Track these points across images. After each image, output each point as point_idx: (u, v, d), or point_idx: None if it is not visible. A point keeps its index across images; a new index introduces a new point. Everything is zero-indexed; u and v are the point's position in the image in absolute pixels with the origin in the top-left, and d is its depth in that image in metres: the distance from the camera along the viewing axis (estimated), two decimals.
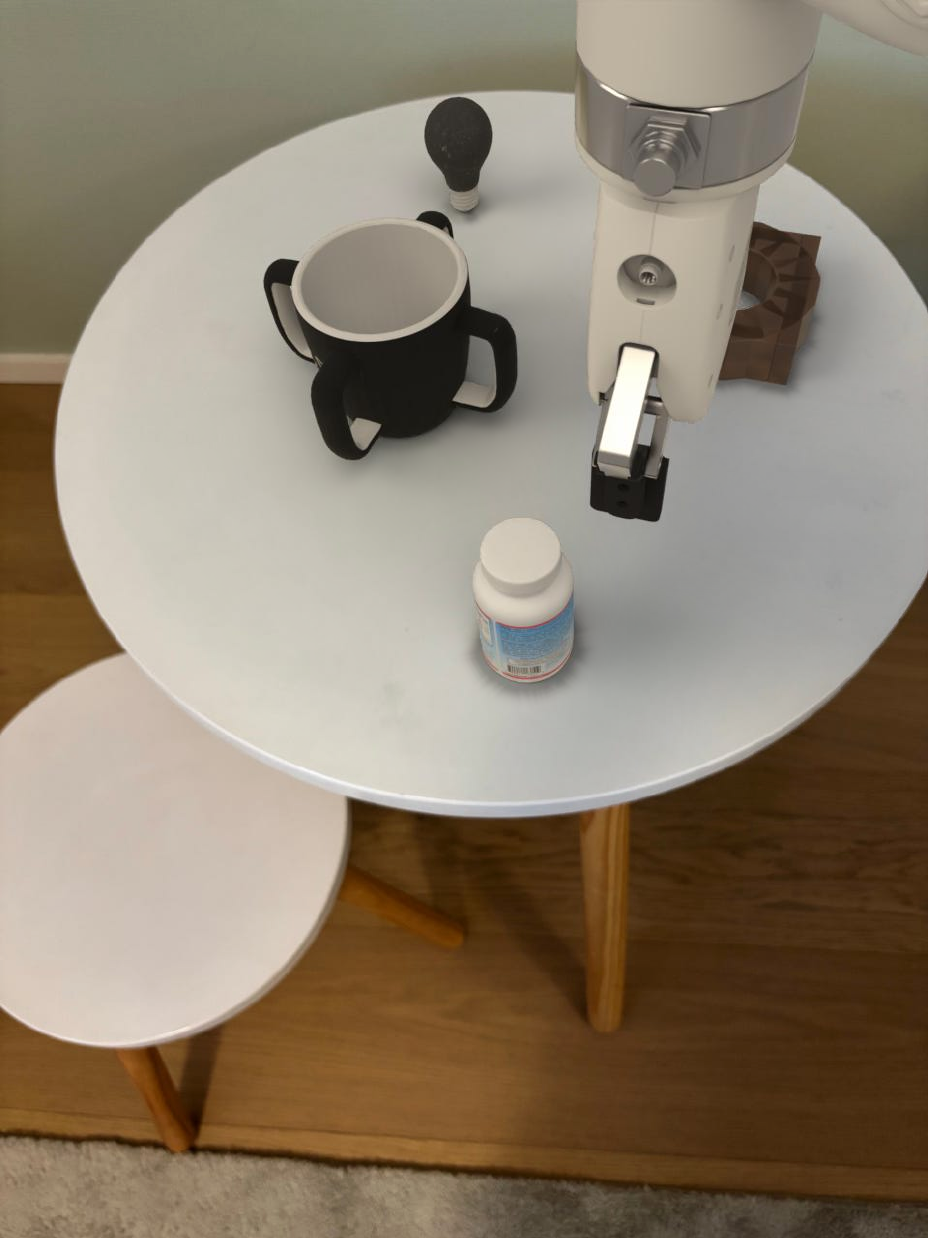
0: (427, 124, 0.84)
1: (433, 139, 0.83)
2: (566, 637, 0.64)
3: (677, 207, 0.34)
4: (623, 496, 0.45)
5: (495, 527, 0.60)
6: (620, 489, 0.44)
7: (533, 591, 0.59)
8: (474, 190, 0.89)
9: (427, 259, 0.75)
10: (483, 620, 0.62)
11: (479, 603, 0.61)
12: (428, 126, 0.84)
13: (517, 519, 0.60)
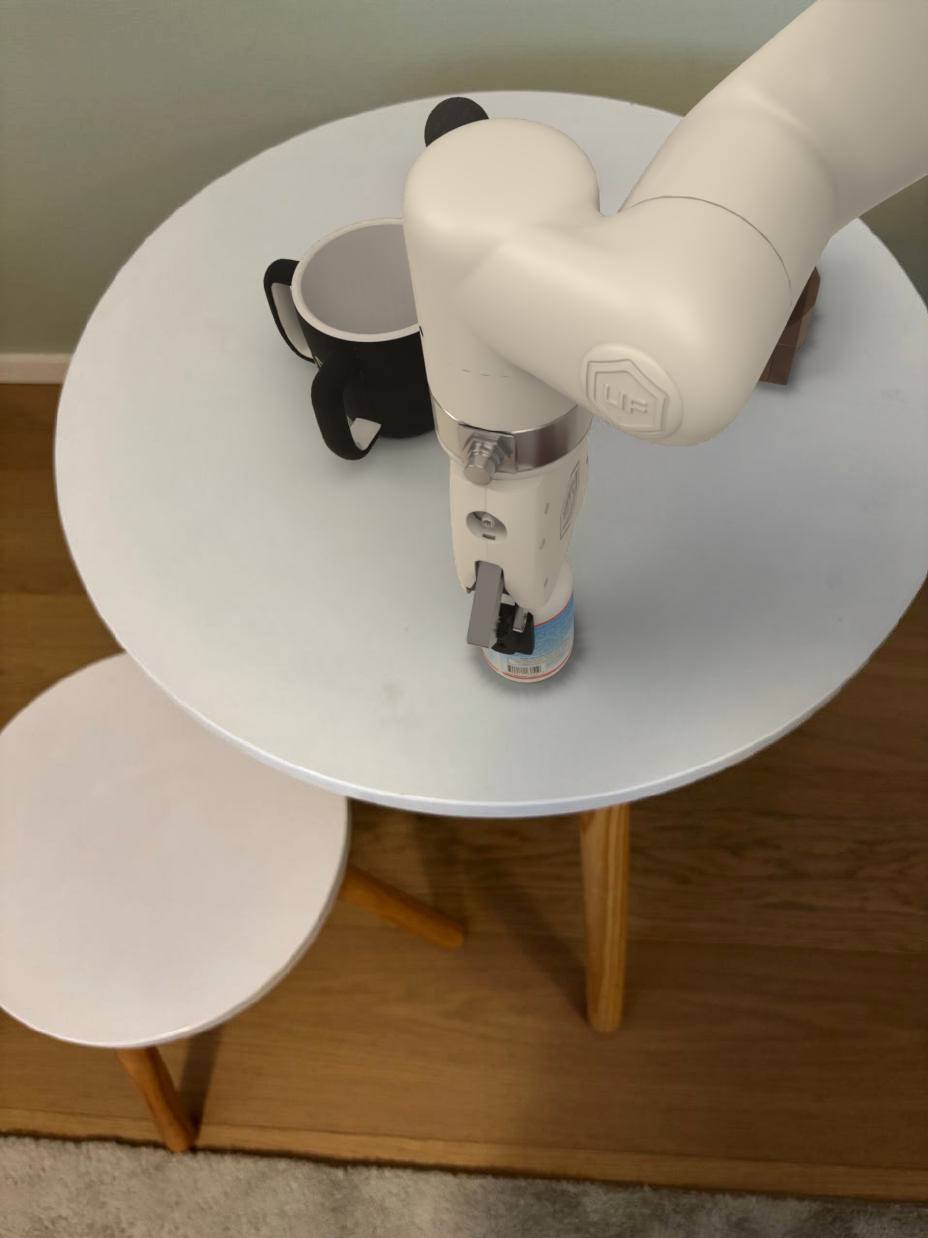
0: (427, 124, 0.84)
1: (433, 139, 0.83)
2: (566, 637, 0.64)
3: (502, 483, 0.47)
4: (501, 640, 0.59)
5: None
6: None
7: None
8: None
9: None
10: None
11: None
12: (428, 126, 0.84)
13: None
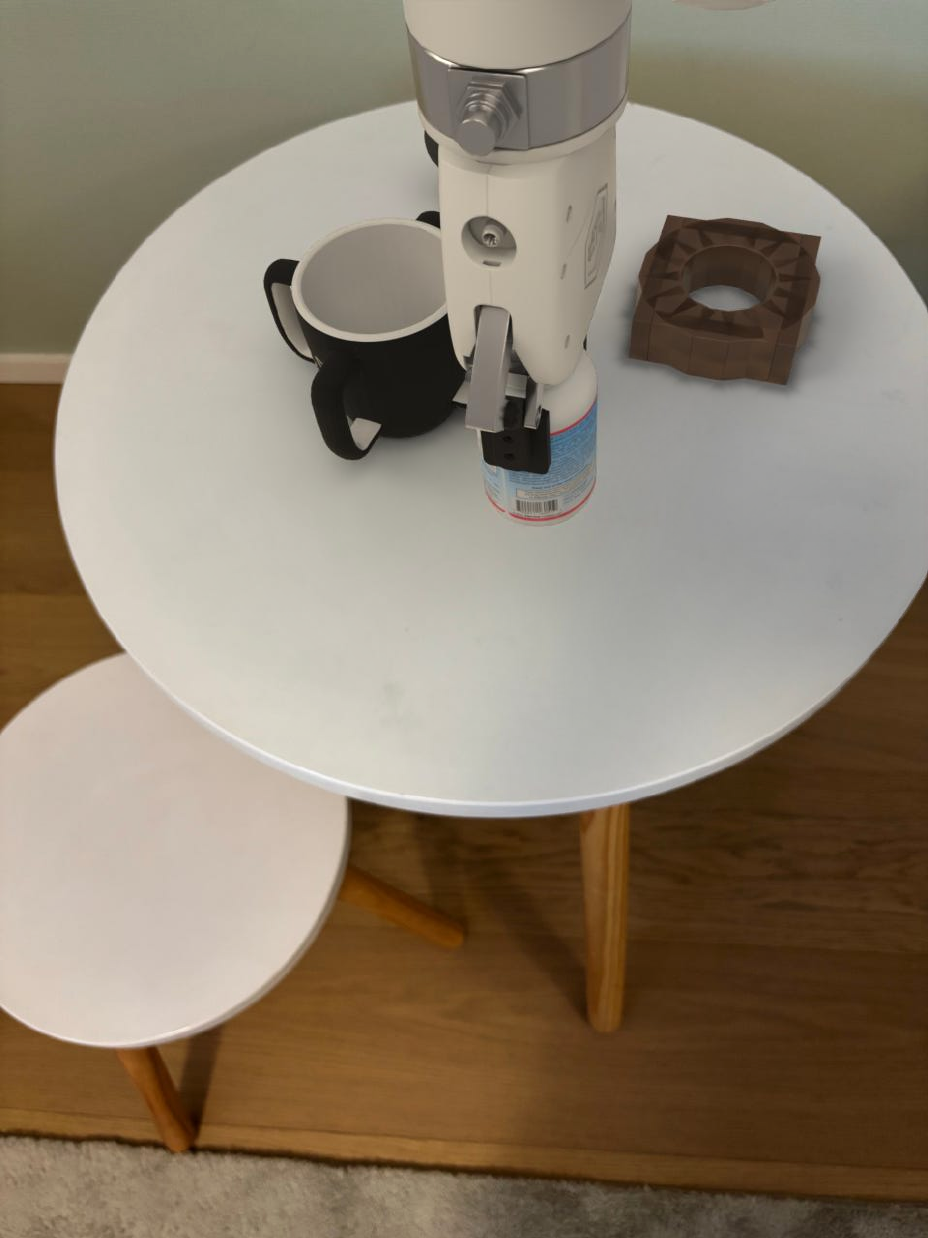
0: None
1: (433, 139, 0.83)
2: (588, 462, 0.52)
3: (508, 168, 0.35)
4: (509, 448, 0.47)
5: None
6: (505, 441, 0.47)
7: None
8: None
9: (427, 259, 0.75)
10: None
11: None
12: None
13: None
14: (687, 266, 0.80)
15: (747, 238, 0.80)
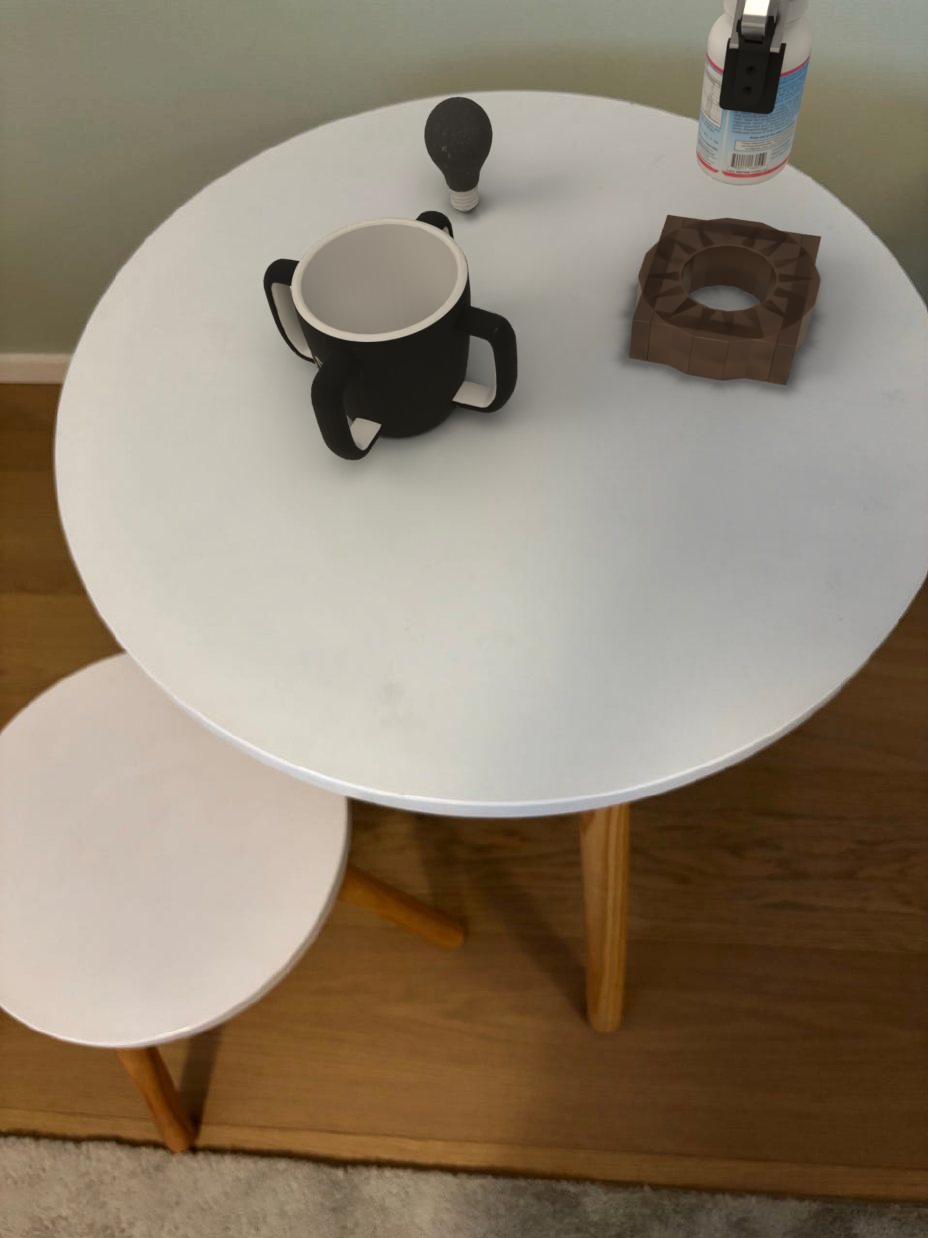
0: (427, 124, 0.84)
1: (433, 139, 0.83)
2: (794, 119, 0.64)
3: None
4: (749, 80, 0.59)
5: None
6: (747, 72, 0.59)
7: None
8: (474, 190, 0.89)
9: (427, 259, 0.75)
10: (717, 87, 0.62)
11: (718, 58, 0.61)
12: (428, 126, 0.84)
13: None
14: (687, 266, 0.80)
15: (747, 238, 0.80)
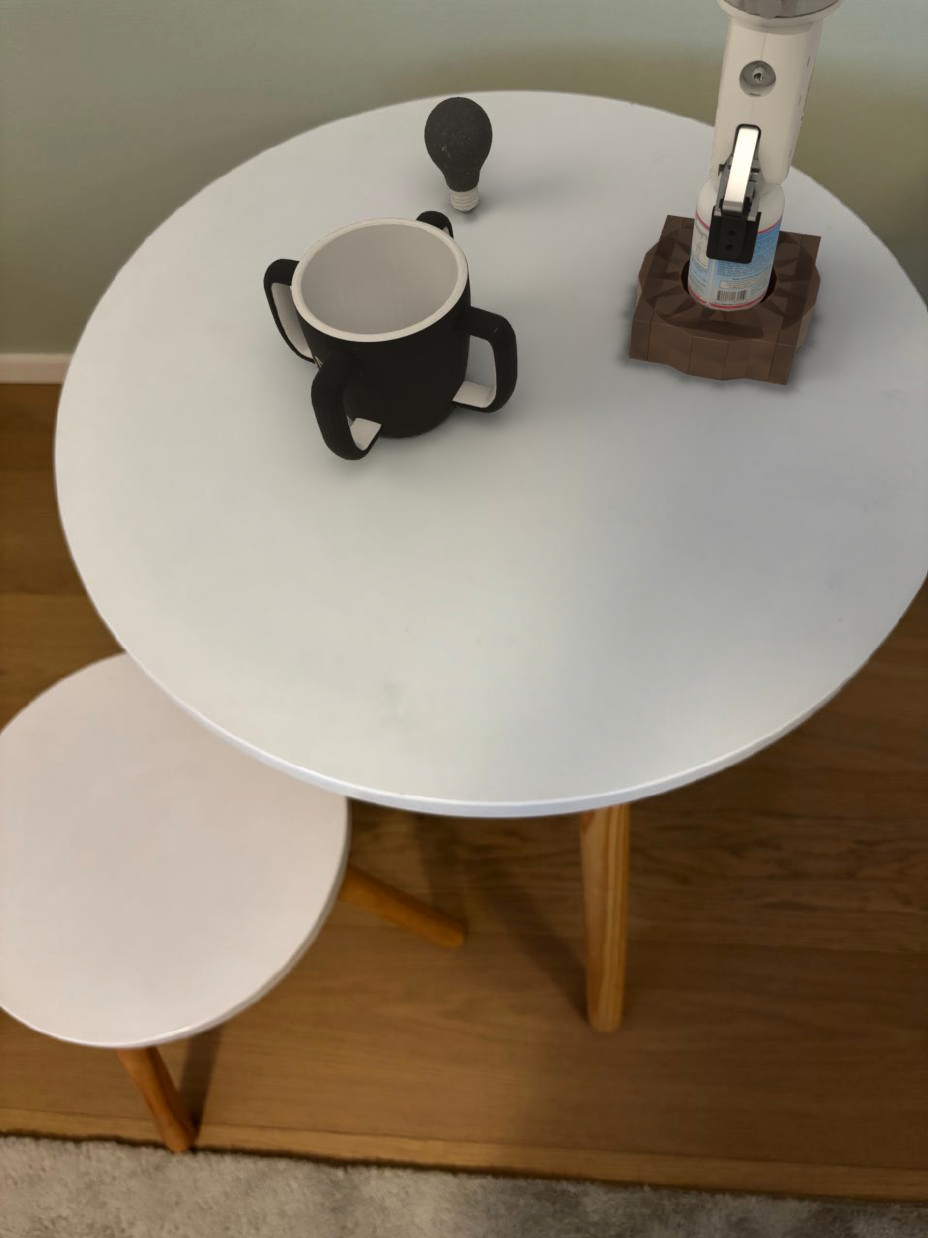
0: (427, 124, 0.84)
1: (433, 139, 0.83)
2: (770, 262, 0.75)
3: (778, 29, 0.58)
4: (731, 240, 0.70)
5: None
6: (729, 234, 0.70)
7: None
8: (474, 190, 0.89)
9: (427, 259, 0.75)
10: (705, 239, 0.73)
11: (705, 217, 0.72)
12: (428, 126, 0.84)
13: None
14: (687, 266, 0.80)
15: None
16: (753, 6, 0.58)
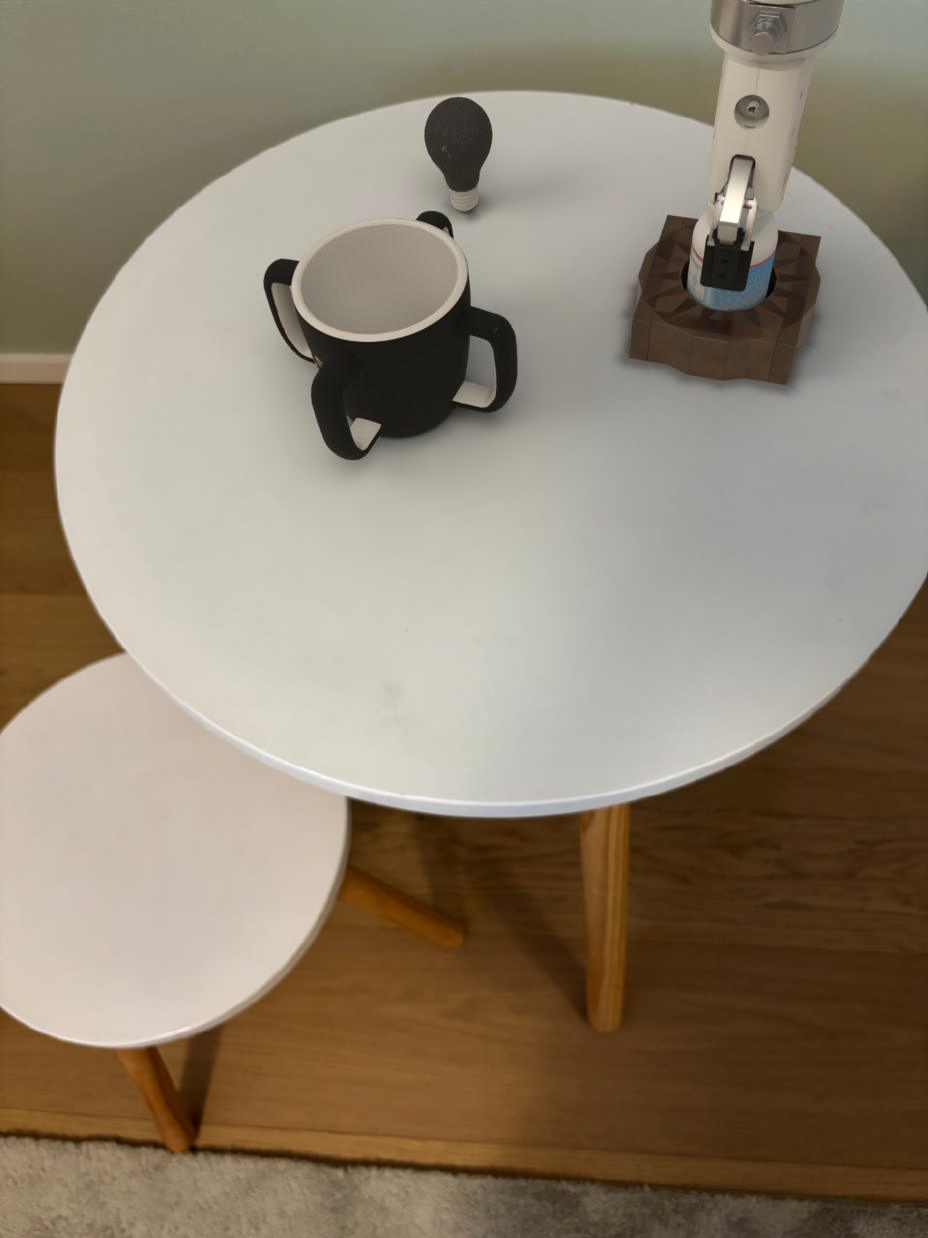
0: (427, 124, 0.84)
1: (433, 139, 0.83)
2: (764, 293, 0.78)
3: (772, 65, 0.60)
4: (724, 268, 0.71)
5: None
6: (723, 263, 0.71)
7: None
8: (474, 190, 0.89)
9: (427, 259, 0.75)
10: None
11: (701, 251, 0.75)
12: (428, 126, 0.84)
13: None
14: (687, 266, 0.80)
15: None
16: (747, 43, 0.60)
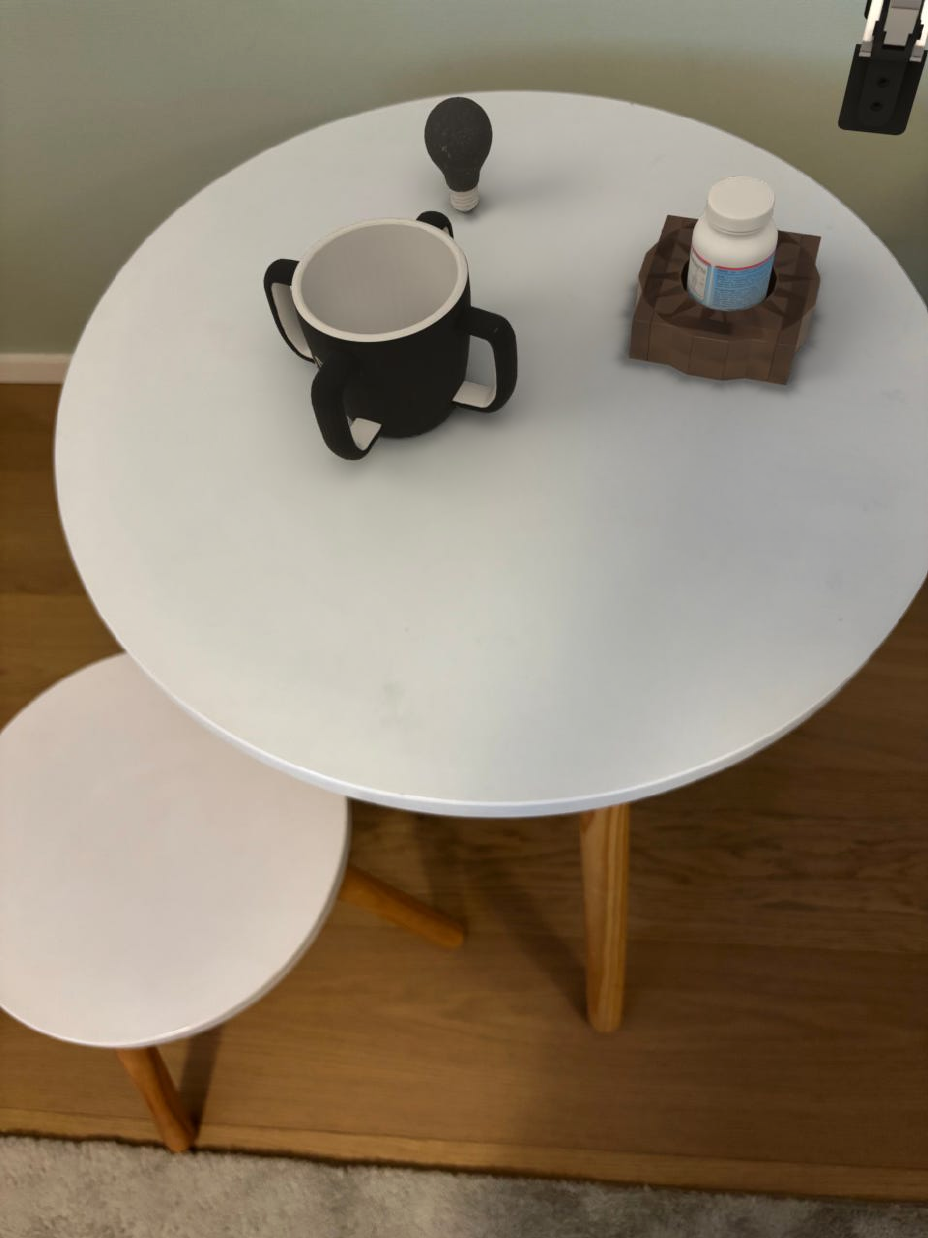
0: (427, 124, 0.84)
1: (433, 139, 0.83)
2: (764, 293, 0.78)
3: None
4: (880, 95, 0.49)
5: (718, 183, 0.73)
6: (878, 85, 0.48)
7: (752, 229, 0.72)
8: (474, 190, 0.89)
9: (427, 259, 0.75)
10: (700, 271, 0.76)
11: (701, 251, 0.75)
12: (428, 126, 0.84)
13: (735, 177, 0.73)
14: (687, 266, 0.80)
15: None
16: None
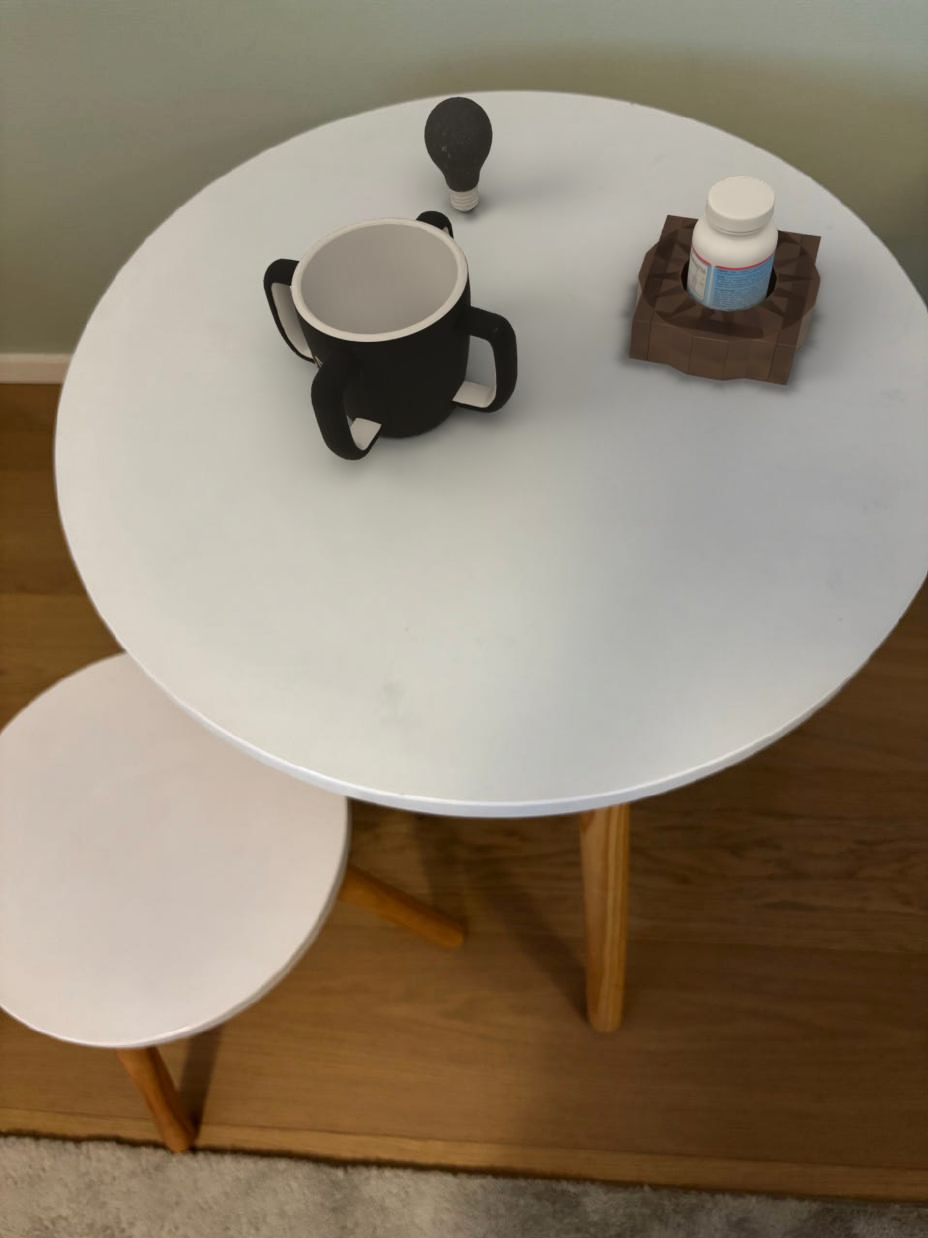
0: (427, 124, 0.84)
1: (433, 139, 0.83)
2: (764, 293, 0.78)
3: None
4: None
5: (718, 183, 0.73)
6: None
7: (752, 229, 0.72)
8: (474, 190, 0.89)
9: (427, 259, 0.75)
10: (700, 271, 0.76)
11: (701, 251, 0.75)
12: (428, 126, 0.84)
13: (736, 177, 0.73)
14: (687, 266, 0.80)
15: None
16: None
